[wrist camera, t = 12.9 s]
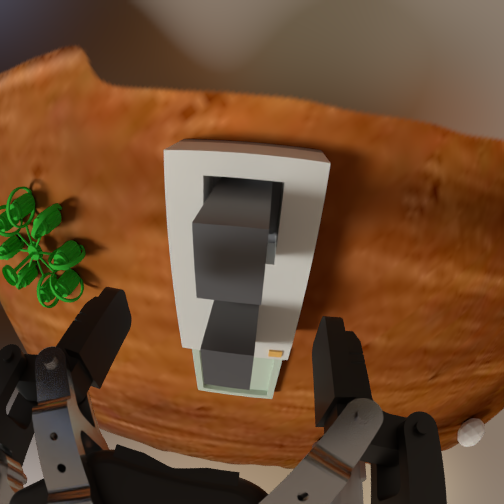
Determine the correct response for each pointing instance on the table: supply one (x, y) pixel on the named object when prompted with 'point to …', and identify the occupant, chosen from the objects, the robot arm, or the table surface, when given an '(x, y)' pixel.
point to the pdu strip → (277, 258)
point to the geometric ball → (471, 432)
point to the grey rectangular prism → (232, 241)
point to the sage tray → (261, 378)
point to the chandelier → (39, 250)
